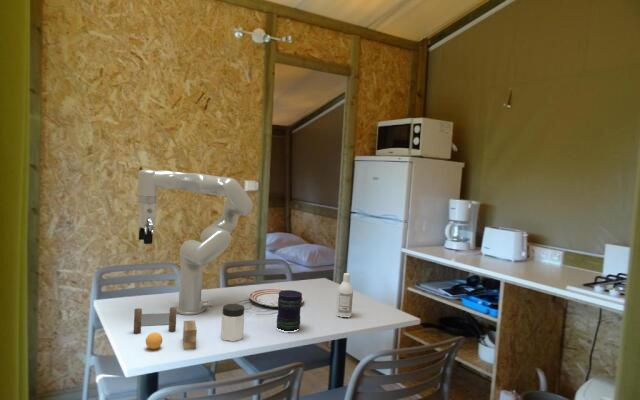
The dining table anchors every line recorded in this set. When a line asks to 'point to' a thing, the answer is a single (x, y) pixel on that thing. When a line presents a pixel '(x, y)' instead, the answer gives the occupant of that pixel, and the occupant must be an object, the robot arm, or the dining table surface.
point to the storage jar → (289, 310)
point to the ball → (153, 340)
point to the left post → (137, 320)
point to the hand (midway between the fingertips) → (145, 241)
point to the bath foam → (345, 297)
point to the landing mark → (155, 319)
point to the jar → (232, 322)
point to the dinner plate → (265, 292)
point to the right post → (172, 319)
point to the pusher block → (189, 335)
